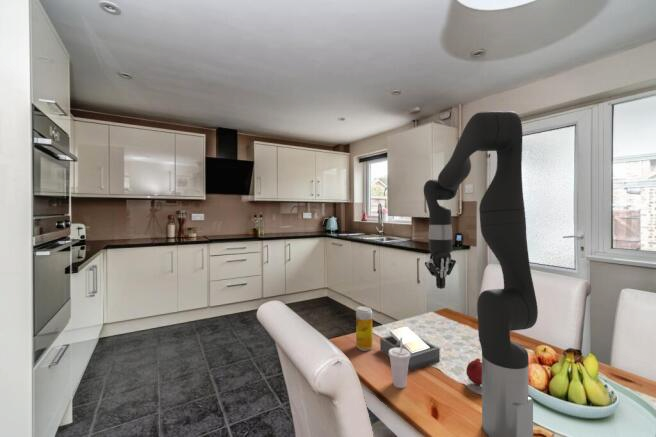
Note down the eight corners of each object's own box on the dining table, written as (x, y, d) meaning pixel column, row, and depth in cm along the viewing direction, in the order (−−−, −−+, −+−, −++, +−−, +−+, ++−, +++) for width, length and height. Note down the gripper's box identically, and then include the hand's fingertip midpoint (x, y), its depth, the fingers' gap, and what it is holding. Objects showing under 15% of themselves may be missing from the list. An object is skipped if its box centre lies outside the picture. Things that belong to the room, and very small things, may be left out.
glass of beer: (353, 346, 112) (353, 307, 111) (366, 342, 114) (366, 305, 114) (361, 352, 106) (361, 312, 106) (375, 349, 109) (375, 309, 108)
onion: (476, 392, 82) (476, 364, 82) (462, 381, 88) (462, 355, 87) (493, 389, 84) (493, 361, 83) (478, 378, 89) (477, 352, 89)
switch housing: (439, 361, 100) (439, 348, 99) (410, 370, 94) (410, 357, 94) (407, 342, 114) (407, 331, 114) (380, 350, 108) (380, 338, 108)
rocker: (430, 351, 101) (432, 346, 100) (408, 358, 97) (409, 353, 96) (407, 330, 111) (408, 325, 111) (386, 335, 107) (387, 330, 106)
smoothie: (411, 392, 83) (411, 343, 82) (388, 389, 84) (388, 341, 84) (409, 379, 89) (409, 334, 89) (388, 377, 90) (388, 332, 90)
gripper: (434, 239, 93) (435, 293, 94) (462, 237, 99) (463, 288, 99) (417, 238, 100) (418, 288, 100) (445, 236, 106) (445, 283, 106)
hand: (440, 288), depth 100 cm, fingers closed
